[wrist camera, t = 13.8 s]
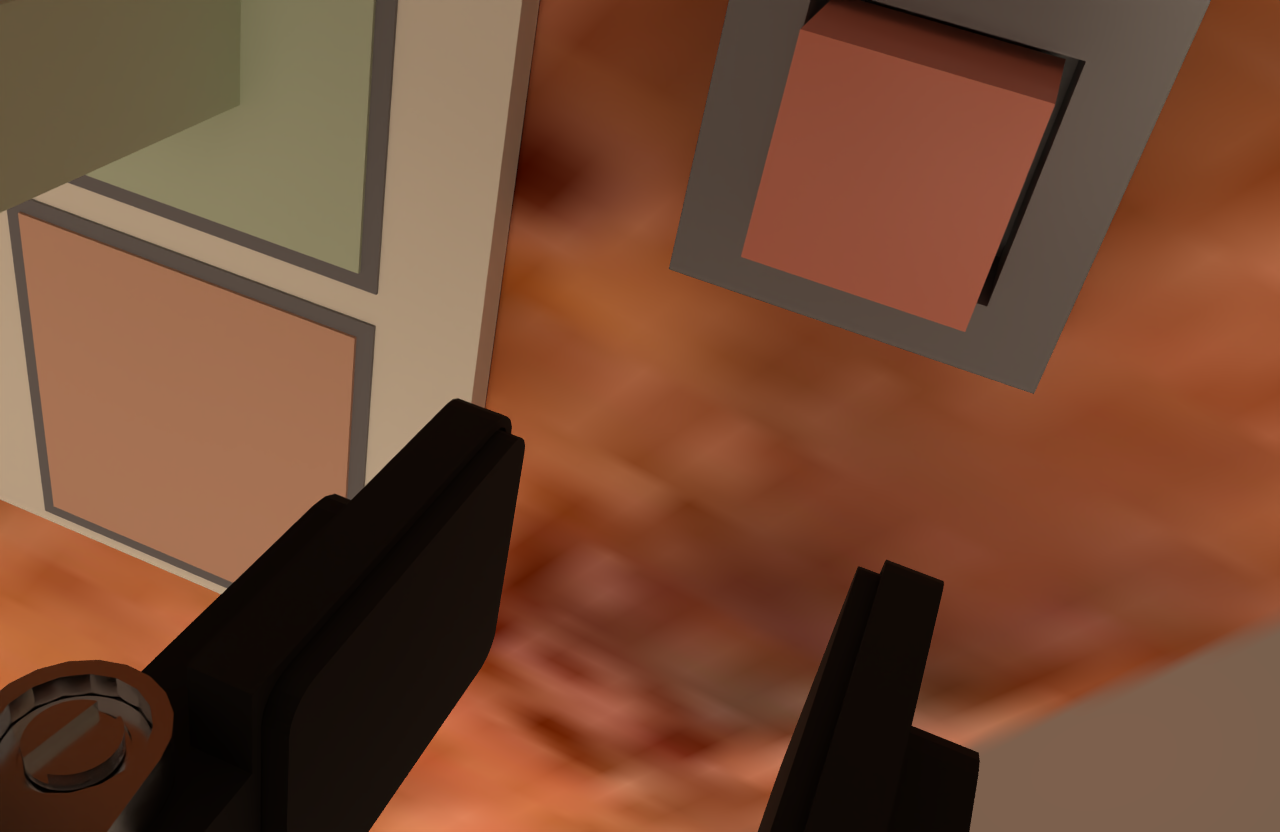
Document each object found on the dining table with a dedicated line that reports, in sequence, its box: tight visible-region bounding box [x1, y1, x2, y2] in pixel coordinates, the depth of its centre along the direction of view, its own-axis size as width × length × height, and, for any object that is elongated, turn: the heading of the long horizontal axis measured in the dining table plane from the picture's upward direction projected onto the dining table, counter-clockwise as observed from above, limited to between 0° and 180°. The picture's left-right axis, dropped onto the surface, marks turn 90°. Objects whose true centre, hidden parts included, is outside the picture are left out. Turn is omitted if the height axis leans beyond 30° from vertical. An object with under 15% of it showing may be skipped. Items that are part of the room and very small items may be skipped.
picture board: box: [0, 0, 540, 594], centre depth 33 cm, size 26×18×1 cm
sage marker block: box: [0, 0, 241, 213], centre depth 25 cm, size 4×4×10 cm
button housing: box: [669, 0, 1211, 394], centre depth 24 cm, size 8×8×3 cm
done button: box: [741, 0, 1066, 332], centre depth 22 cm, size 4×4×3 cm
